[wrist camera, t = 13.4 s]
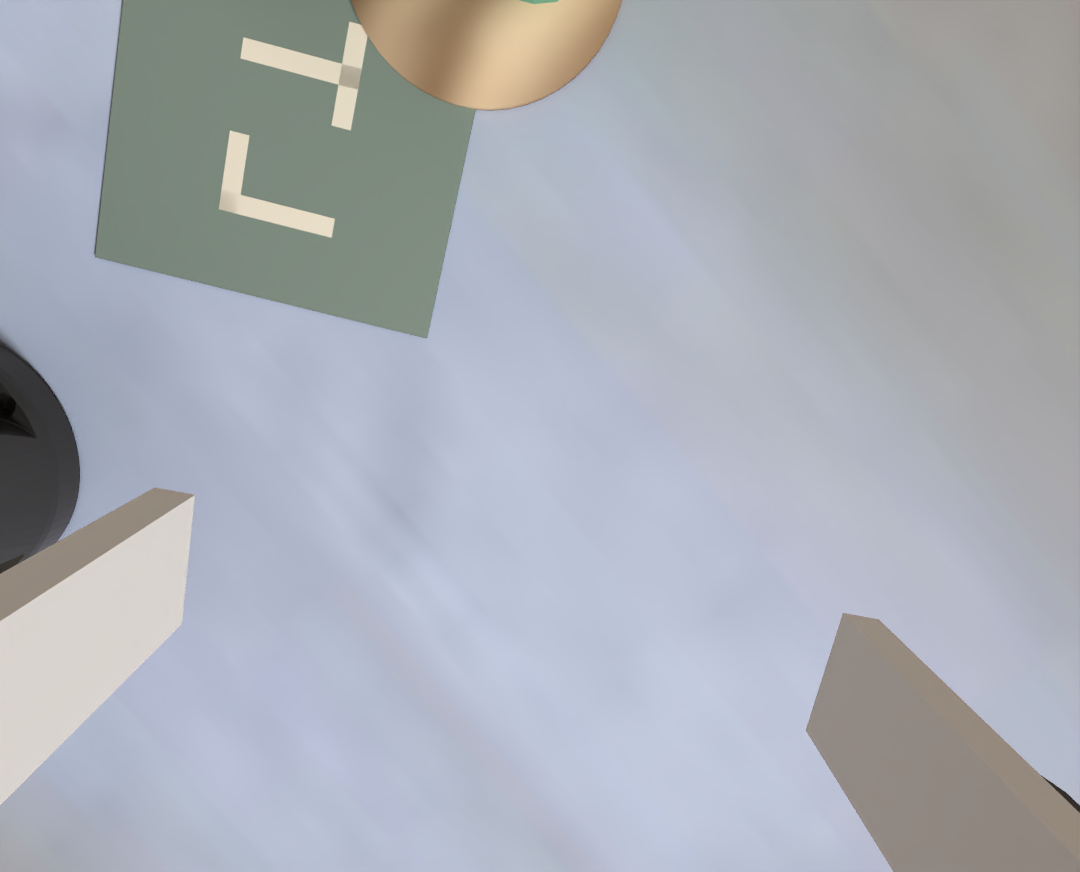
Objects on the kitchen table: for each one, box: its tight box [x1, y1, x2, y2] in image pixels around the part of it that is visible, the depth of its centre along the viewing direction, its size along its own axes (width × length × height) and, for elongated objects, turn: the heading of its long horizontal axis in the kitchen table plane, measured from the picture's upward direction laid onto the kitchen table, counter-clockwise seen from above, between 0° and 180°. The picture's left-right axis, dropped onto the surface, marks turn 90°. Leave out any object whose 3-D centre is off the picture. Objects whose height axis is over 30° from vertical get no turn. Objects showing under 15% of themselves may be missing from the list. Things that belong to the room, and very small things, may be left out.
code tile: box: [95, 0, 475, 338], centre depth 36 cm, size 18×18×1 cm
